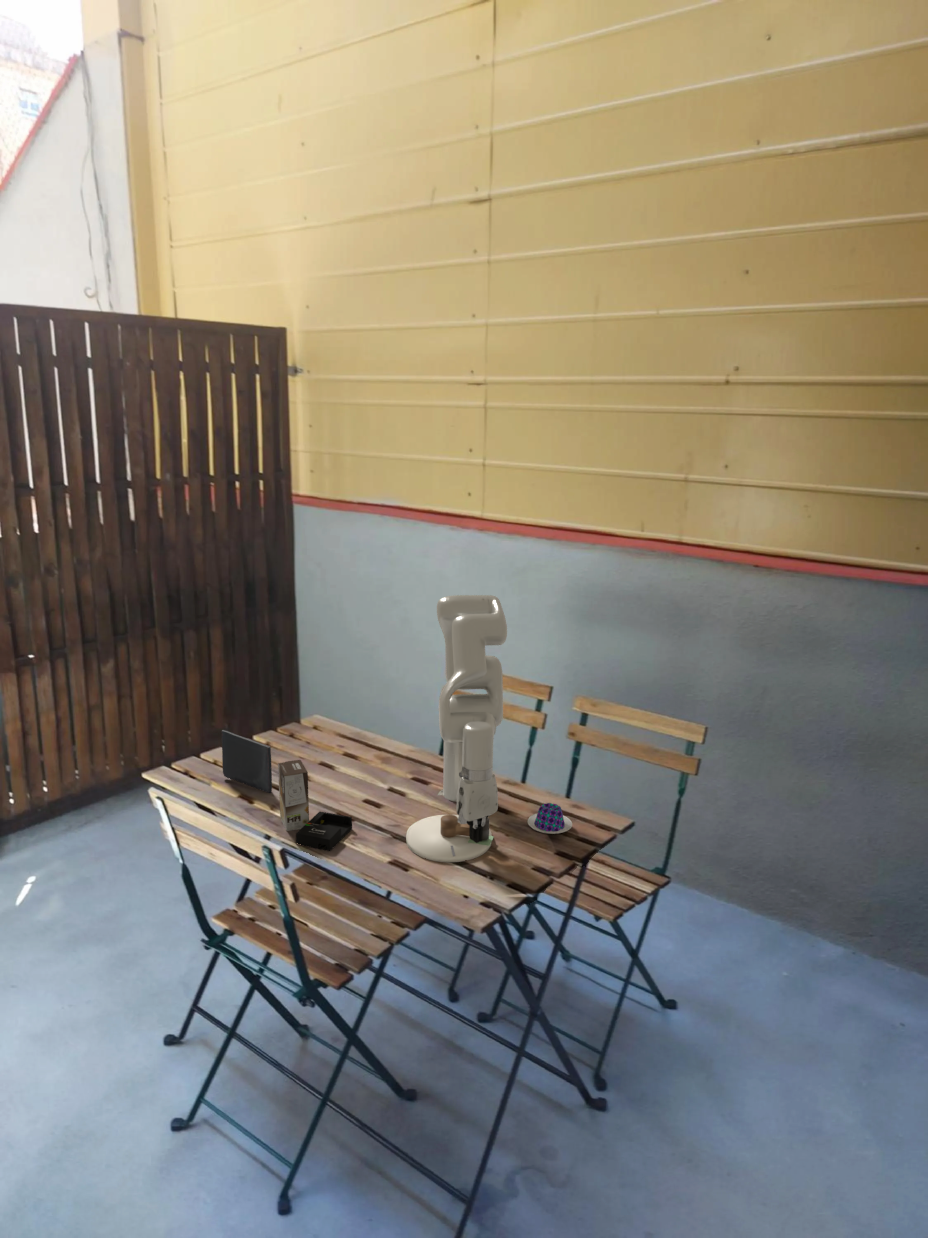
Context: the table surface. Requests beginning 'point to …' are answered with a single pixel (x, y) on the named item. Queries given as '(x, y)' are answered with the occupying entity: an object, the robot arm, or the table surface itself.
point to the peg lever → (459, 827)
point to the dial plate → (442, 842)
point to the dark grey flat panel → (246, 761)
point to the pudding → (550, 819)
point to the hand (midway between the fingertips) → (475, 840)
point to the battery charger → (324, 831)
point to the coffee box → (293, 794)
